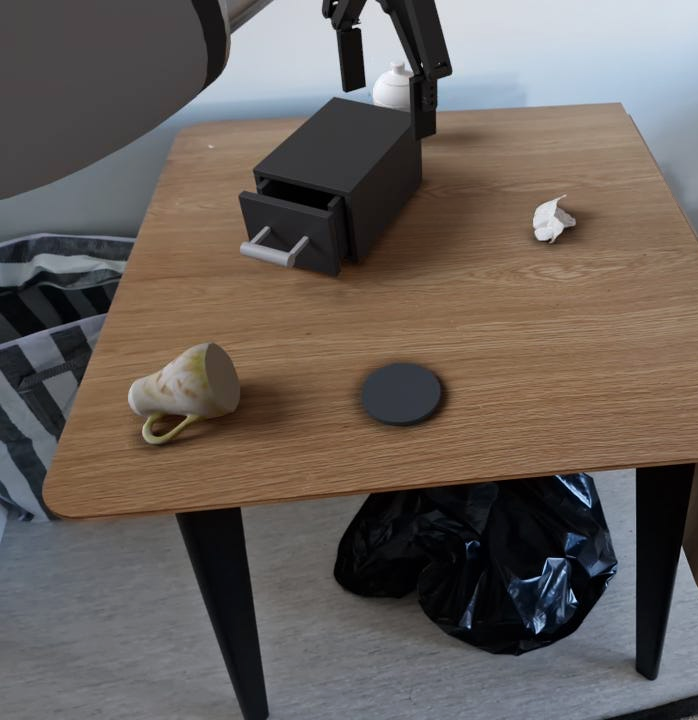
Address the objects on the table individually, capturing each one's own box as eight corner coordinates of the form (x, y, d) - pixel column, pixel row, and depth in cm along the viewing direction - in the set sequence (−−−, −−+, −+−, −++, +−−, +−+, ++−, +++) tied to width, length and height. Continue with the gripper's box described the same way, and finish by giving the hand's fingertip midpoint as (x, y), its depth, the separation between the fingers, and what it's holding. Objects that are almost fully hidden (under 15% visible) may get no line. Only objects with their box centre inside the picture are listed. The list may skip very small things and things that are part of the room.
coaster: (421, 435, 70) (421, 431, 69) (347, 412, 72) (346, 408, 71) (452, 379, 75) (452, 375, 75) (382, 358, 77) (382, 354, 76)
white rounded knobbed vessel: (437, 138, 109) (436, 59, 101) (407, 160, 105) (403, 79, 96) (396, 124, 112) (392, 46, 103) (366, 144, 107) (358, 65, 99)
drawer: (315, 303, 81) (304, 243, 75) (228, 279, 84) (211, 219, 78) (402, 195, 97) (399, 138, 91) (327, 177, 99) (319, 121, 93)
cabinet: (358, 263, 88) (349, 192, 81) (268, 240, 91) (252, 168, 83) (423, 182, 101) (420, 114, 94) (342, 163, 104) (333, 96, 96)
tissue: (518, 233, 93) (520, 208, 90) (548, 204, 98) (550, 179, 95) (556, 248, 91) (560, 223, 88) (585, 218, 96) (588, 193, 93)
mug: (134, 390, 73) (160, 310, 69) (229, 420, 76) (260, 346, 72) (109, 435, 67) (136, 350, 62) (214, 466, 70) (246, 388, 65)
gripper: (494, -87, 60) (485, 147, 75) (336, -145, 73) (355, 63, 88) (420, -72, 56) (427, 170, 71) (268, -137, 70) (300, 79, 85)
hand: (387, 111), depth 80 cm, fingers open, 13 cm apart
